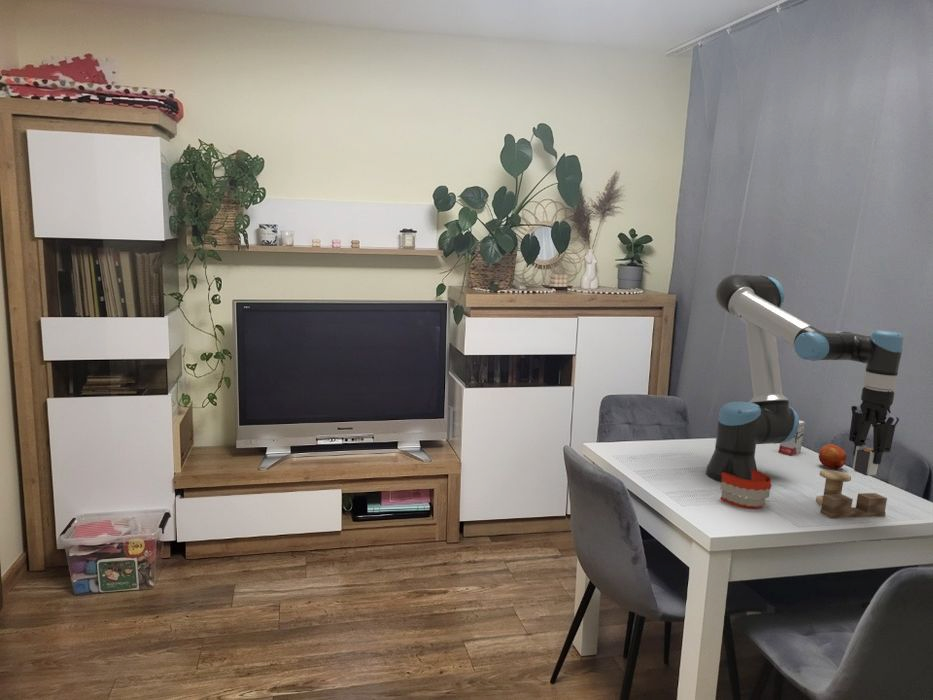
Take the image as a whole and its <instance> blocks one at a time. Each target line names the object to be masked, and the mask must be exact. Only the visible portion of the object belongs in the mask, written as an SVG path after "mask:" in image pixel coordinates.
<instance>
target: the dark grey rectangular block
mask: <svg viewBox="0 0 933 700" xmlns="http://www.w3.org/2000/svg"><path fill="white" fill-rule="evenodd" d="M871 450H873V447H872V448H870V447H866V448H864V450H857V455H856V462H855V468H854V469H853V471H854V472H855V473H859V474H861V475H863V476H867V477H869V475H867V469H868V463H869V457H870V451H871ZM879 468H880V464H878V470H877V475H876V476H878V475H879V474H878V473H879Z"/></svg>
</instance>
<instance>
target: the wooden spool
mask: <svg viewBox="0 0 933 700" xmlns="http://www.w3.org/2000/svg"><path fill="white" fill-rule="evenodd" d="M819 476H820V477H822V478H824V479H825V482H824V483H825V484H824V489H823V495H829V494H842V492H843V485H844V483H846V482H851V480H852V476H851V475H849V474H848V473H845V472H843V471H842V472H841V471H838V470H834V469H822V470H819ZM823 495H818V496H816V497H815V503H816V504H818V505H820V506H822V502H823Z"/></svg>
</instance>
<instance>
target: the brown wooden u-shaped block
mask: <svg viewBox="0 0 933 700" xmlns="http://www.w3.org/2000/svg"><path fill="white" fill-rule="evenodd" d="M822 496H823V502H822V505H821V508H820V511H819V513H820V514H821V515H824V516H826V517H828V518H829V519H846V518H847V519H850V518H852V519H853V518H868V517H869V518H871V517H873V518H874V516H876V517H886V507H887V502H888V498H887V497H886V496H883V495H881V494H879V493H877V492H872V493H871V492H868V493H867V492H866V493H857V497H856V503H855V507H853V501H854V500H853V498H851V497H849V496H846V495H844V494H842V493H841V494H829V495H824V494H823V495H822Z"/></svg>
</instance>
